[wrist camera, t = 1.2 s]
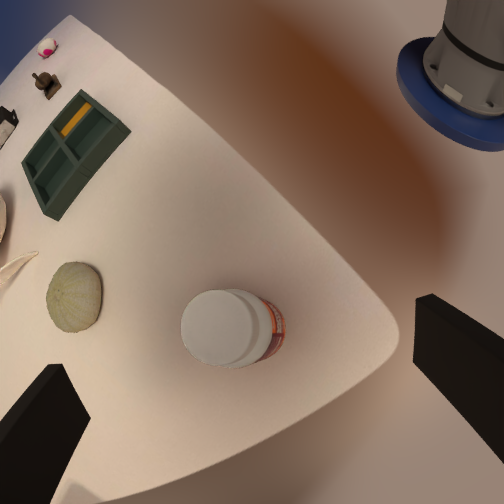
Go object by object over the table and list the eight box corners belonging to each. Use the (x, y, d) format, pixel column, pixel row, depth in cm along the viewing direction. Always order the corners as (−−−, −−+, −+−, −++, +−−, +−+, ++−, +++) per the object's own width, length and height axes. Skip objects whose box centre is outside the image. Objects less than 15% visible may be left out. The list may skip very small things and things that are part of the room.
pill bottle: (299, 326, 29) (282, 323, 19) (258, 372, 29) (218, 392, 19) (253, 286, 32) (213, 262, 21) (214, 331, 31) (157, 328, 21)
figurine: (65, 92, 52) (42, 70, 44) (51, 106, 52) (27, 86, 44) (55, 75, 57) (36, 56, 49) (43, 87, 57) (23, 70, 49)
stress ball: (48, 65, 68) (32, 64, 62) (50, 44, 65) (34, 42, 59) (61, 58, 66) (45, 56, 60) (63, 36, 63) (47, 34, 57)
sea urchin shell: (41, 295, 36) (32, 260, 31) (88, 278, 42) (86, 242, 36) (63, 350, 33) (53, 321, 28) (113, 328, 38) (113, 298, 33)
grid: (91, 98, 48) (81, 88, 45) (131, 131, 42) (119, 119, 39) (32, 170, 48) (20, 163, 44) (58, 221, 41) (43, 214, 38)
